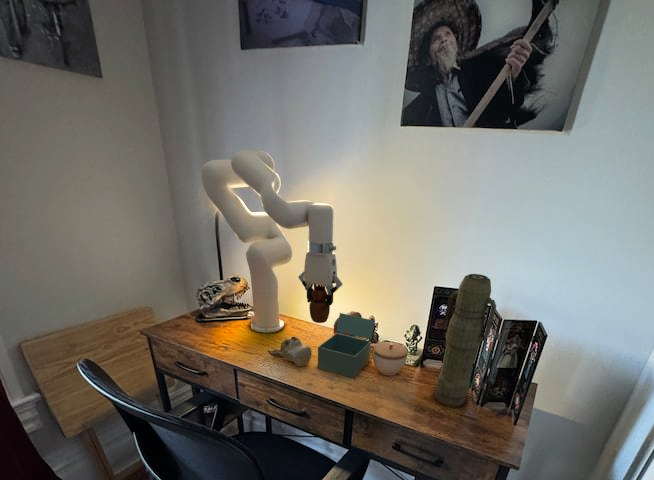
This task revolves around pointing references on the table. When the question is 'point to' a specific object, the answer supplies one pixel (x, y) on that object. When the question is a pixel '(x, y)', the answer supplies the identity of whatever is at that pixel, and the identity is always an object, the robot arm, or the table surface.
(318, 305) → the wooden figurine
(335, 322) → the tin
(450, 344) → the thermos
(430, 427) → the table surface
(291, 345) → the ceramic sculpture
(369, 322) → the flap
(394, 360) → the trinket box
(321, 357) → the carton
